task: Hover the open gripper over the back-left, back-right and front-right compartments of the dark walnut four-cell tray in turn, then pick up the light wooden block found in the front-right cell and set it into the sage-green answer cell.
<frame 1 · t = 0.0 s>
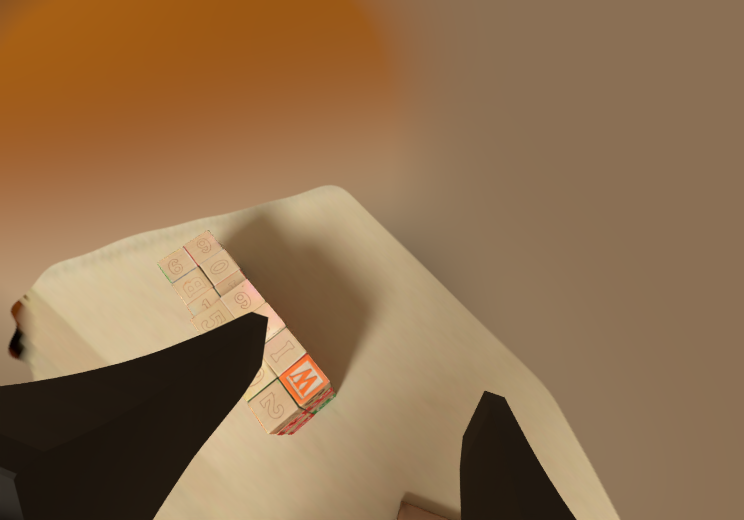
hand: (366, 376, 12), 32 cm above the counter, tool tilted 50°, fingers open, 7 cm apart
stack of blocks: (261, 342, 45), on the counter
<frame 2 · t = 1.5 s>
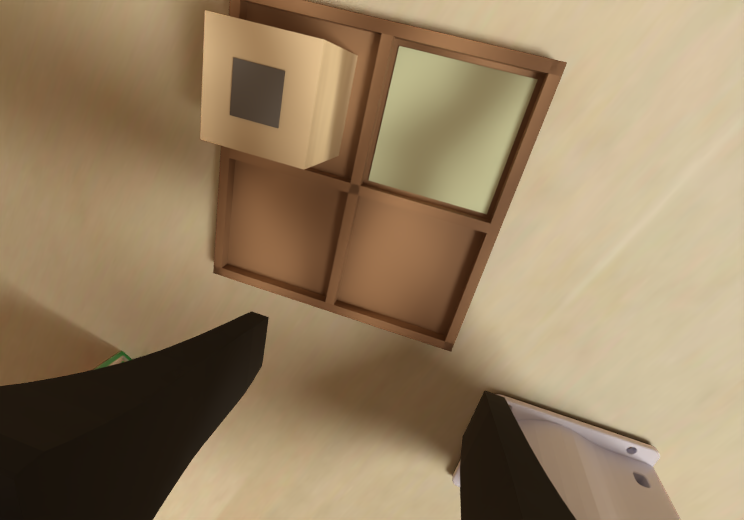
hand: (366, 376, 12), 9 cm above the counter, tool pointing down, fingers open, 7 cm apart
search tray: (359, 185, 19), on the counter
light wooden block: (303, 96, 18), resting on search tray
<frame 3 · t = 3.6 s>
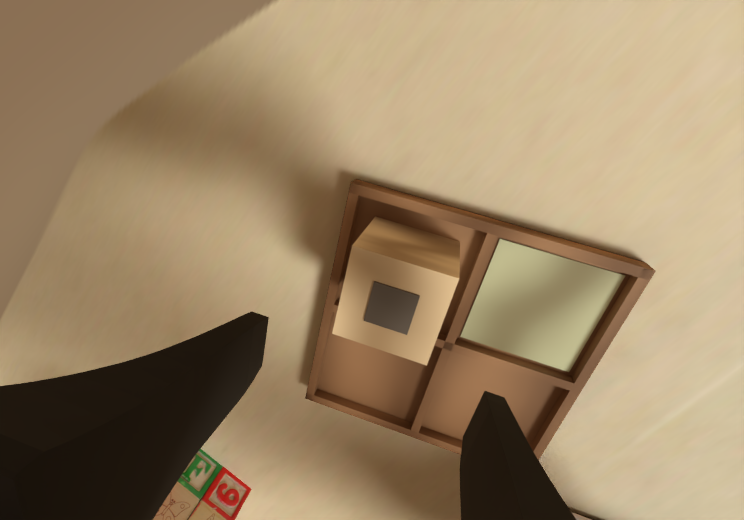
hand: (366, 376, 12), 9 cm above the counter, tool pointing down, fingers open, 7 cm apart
stack of blocks: (171, 509, 35), on the counter
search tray: (448, 336, 22), on the counter
light wooden block: (405, 267, 20), resting on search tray
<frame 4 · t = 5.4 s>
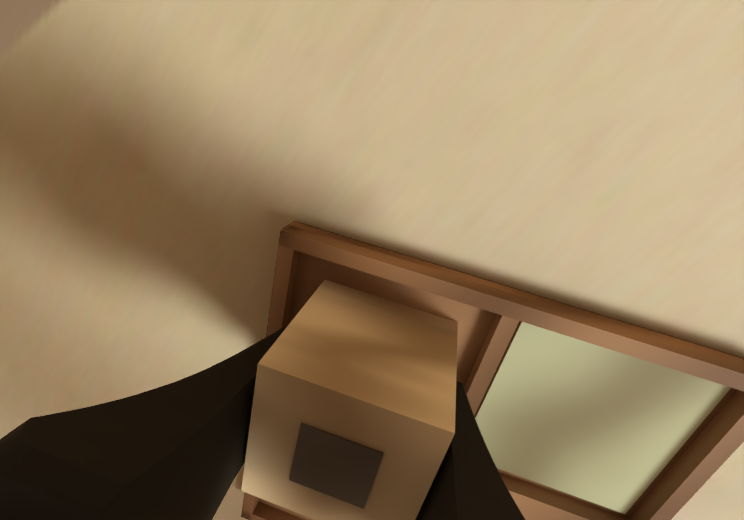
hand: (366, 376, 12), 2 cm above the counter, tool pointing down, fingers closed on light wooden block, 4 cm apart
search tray: (441, 447, 15), on the counter
light wooden block: (374, 354, 13), resting on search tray, touching gripper
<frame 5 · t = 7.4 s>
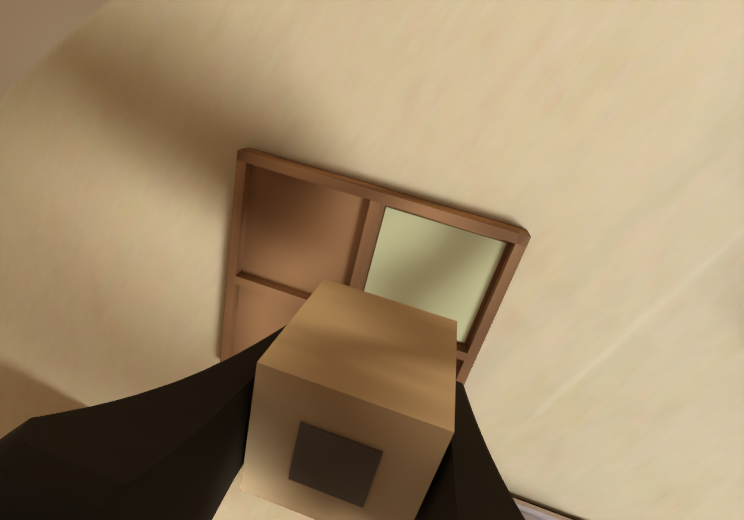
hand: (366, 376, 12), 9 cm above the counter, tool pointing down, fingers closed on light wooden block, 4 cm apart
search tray: (351, 308, 22), on the counter
light wooden block: (373, 353, 13), point 8 cm above the counter, touching gripper
when the fingers open (3 cm above the counter, at t = 9.2 s): light wooden block stays where it is, resting on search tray.
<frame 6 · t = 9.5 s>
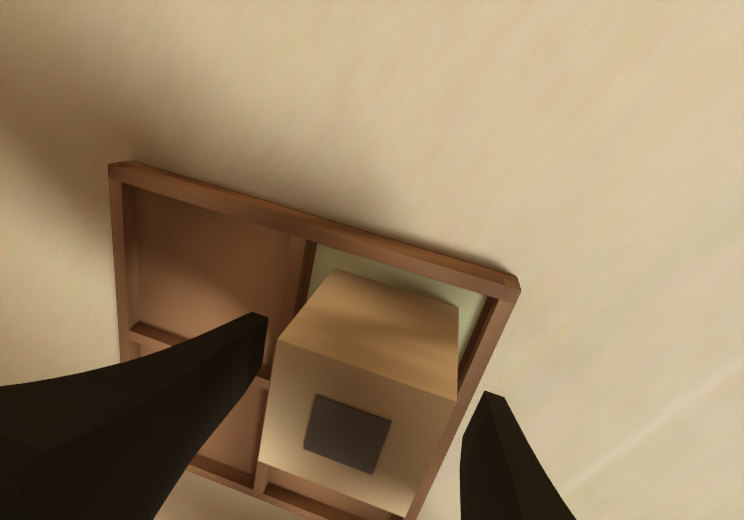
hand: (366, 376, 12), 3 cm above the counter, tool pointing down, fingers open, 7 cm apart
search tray: (285, 372, 16), on the counter
light wooden block: (379, 338, 14), resting on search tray
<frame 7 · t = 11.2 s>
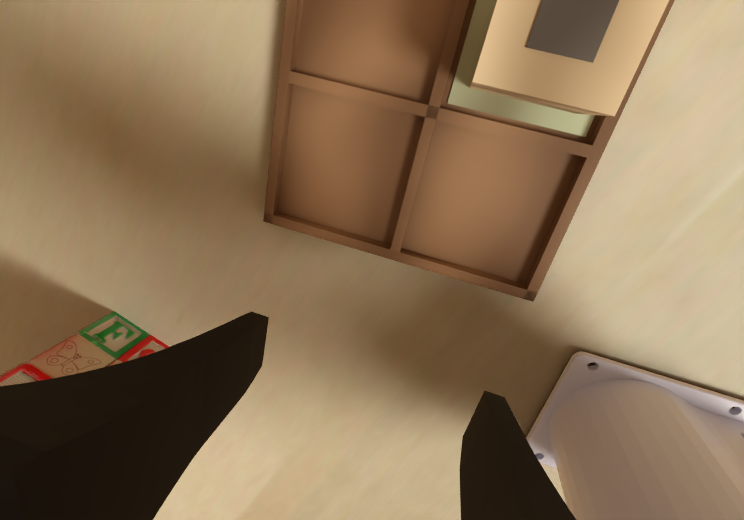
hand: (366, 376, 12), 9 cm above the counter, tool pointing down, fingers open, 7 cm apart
stack of blocks: (119, 414, 32), on the counter
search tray: (433, 112, 17), on the counter
light wooden block: (543, 40, 15), resting on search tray
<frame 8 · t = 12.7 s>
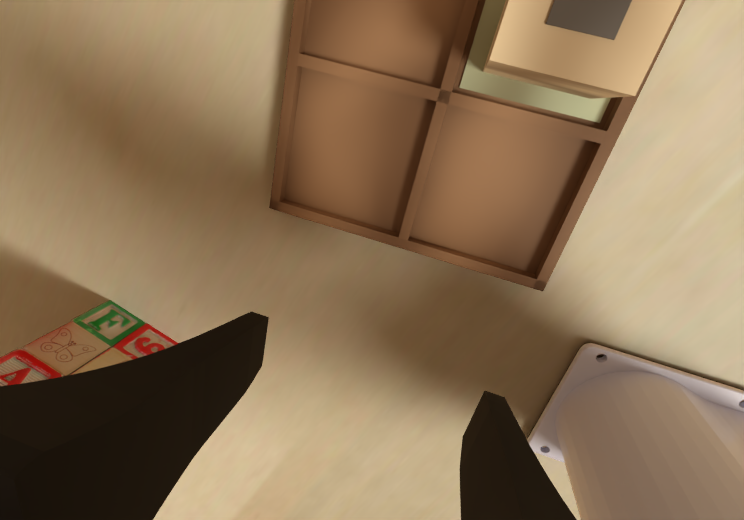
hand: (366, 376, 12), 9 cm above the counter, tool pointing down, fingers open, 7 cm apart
stack of blocks: (117, 406, 31), on the counter
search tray: (445, 97, 17), on the counter
light wooden block: (559, 23, 15), resting on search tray
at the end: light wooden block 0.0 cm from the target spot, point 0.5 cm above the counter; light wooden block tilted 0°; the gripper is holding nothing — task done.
